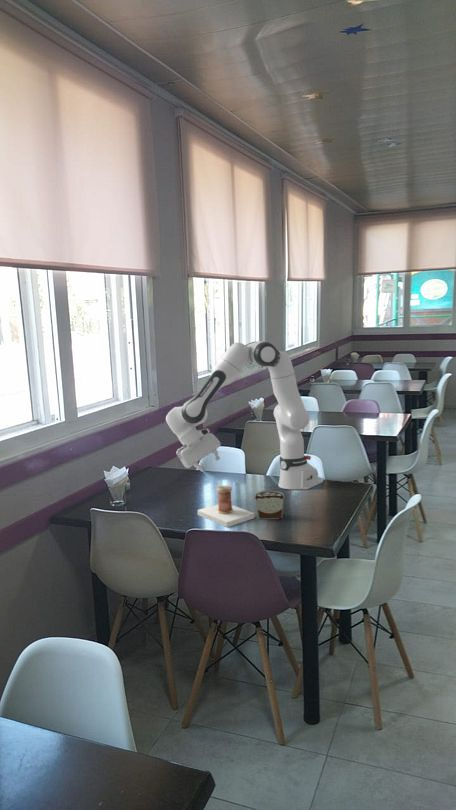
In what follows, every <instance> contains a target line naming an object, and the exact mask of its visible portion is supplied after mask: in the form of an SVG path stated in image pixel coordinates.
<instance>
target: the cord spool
mask: <svg viewBox="0 0 456 810" xmlns="http://www.w3.org/2000/svg"><path fill="white" fill-rule="evenodd" d="M232 491H233V487H232V486H229V485H220V486H216V492H217V502H218V503H217V504H218V506H219V509H218V513H219V514H230V513H232V512H233V508H232V505H233V504H232Z"/></svg>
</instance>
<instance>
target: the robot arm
mask: <svg viewBox="0 0 456 810" xmlns="http://www.w3.org/2000/svg"><path fill="white" fill-rule="evenodd" d="M249 364H250V365H254V366H258V367H267V369H268V372H269V376H270V377H269V378H270V381H271V385H272V386H271V387H272V391H273V395H274V397H275V399H276V401H277V403H278V404H277V405H276V406H274V410H273V417H274V419H275V422H276V428H277V432H278V437H279V439H278V440H279V446H280V447H279V452H280V456H279V465H280V468H279V469H280V471H279V478H278V479H279V480H278V487H279V488H280V489H285V490H309V489H312V488H313V487H316V486H318V485H320V484H323V483H324V482H325V481H324V479H323V478H322V477H319V471H318V469H317V468H316V467H314V466H313V465H312V464H310V463H309V462H308V460H309V461H310V460H311V459H312V456H311V455H305V449H304V448H305V443H304V442H305V441H304V437H303V434H302V430H303V429H305V428H306V427H307V426H308V425H309V423H310V415H309V413H308V411H307V410H306V407H305V405H304V402H303V399H302V397H301V395H300V392H299V388H298V384H297V379H296V375H295V370H294V366H293V363H292V360H291V357H290V356H289V354H288V353H287V352H286V351H280V350H278V349H277V347H276V346H275V345H274V344H273V343H271V342H269V341H263V340H262V341H261V340H258V341H251V342H249V343H247V344H244V343H242V342H234V343H232V344H231V345H230V346H229V347H228V348H227V350H225V352H224V353H223V354H222V355H221V356H220V358H219V360H218V361H217V363H216V365H215V366H214V368H213V370H212V371H211V373H210V375H209V377H208V379H207V380H206V382H204V384H203V386H202V387H201V388H200V390H199V391H198V392H197V393H196V395H195V396H193V397H192V398H190V399H188V400H187V401H185V403H183V405H181V406H174V407H172V408H171V409H170V410H169V411H168V413H167V414H166V416H165V422H166V423H167V425H168V427H169V429H170V430H171V432H173V435H174V434H175V435H176V436H177V438H178V440H179V442H180V443H181V444H182V446H180V448H178V449H176V456H177V457H178V458H179V460H180V461H181V463H182V465H183V466H184V468H185V469H190V468H191V467H194V468H196V469H198V470H199V471H200V472H201V473H202V472H204V471H205V470H206V468H205V467H204V466H203V465H202V466H201V465H199V462H200V461H201V460H203V459H204V458H206V457H207V456H209V455H210V454H211V453H212V455H214V458H213V459H214V460H215V461H216V462H218V461H219V460H220V459H221V457H220V456H219V452H218V450H217V449H219V448H220V447H221V442H220V440H219V439H218V438H217V437H216V436H215V434H213V433H212V432H211V431H210V429H209V428H203V429H198V430H197V428H196V427H198V426H199V425H201V424H203V423H205V422H206V421H207V419H208V417H209V412H208V408H207V407H208V404H209V403H210V402H211V400H212V399H213V398H214V396H216V394H217V392H219V390H220V389H222V388H223V387H225V386H228V385H231V384H232V383H233V382H234V381H235V380H236V379H237V378H238V377H239V376H240V374H241V373H242V371H243V369H244V368H245V367H246V366H247V365H249ZM210 432H211V433H210ZM323 481H324V482H323Z"/></svg>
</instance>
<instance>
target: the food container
mask: <svg viewBox="0 0 456 810" xmlns="http://www.w3.org/2000/svg"><path fill="white" fill-rule="evenodd" d="M253 500H254V501H255V503H256V509H257V510H256V511H257V517H258V519H259V520H270V519H271V520H280V519H279V518H282V519H283V514H284V500H286V497H285V494H284V493H283V492H281V491H279V490H262V491H259V492H257V493H255V494H254V499H253Z"/></svg>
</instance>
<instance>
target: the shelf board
mask: <svg viewBox="0 0 456 810" xmlns="http://www.w3.org/2000/svg"><path fill="white" fill-rule="evenodd" d="M232 508H233V512H232V513H230V514H219V513H218V509H219V506H218V503H216V504H214V505H211V506H207V507H204V508H199V509H197V515H198V516H200V517H202V518H204V519H206V520H209V521H212V522H214V523H216V524H218V525H221V526H223V527H225V528H230V527H232V526H235V525H238V524H241V523H244V522H247V521H250V520H252V519H255V512H252V511H249V510H247V509H244V508H241V507H239V506H236V505H234V504H232Z"/></svg>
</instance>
